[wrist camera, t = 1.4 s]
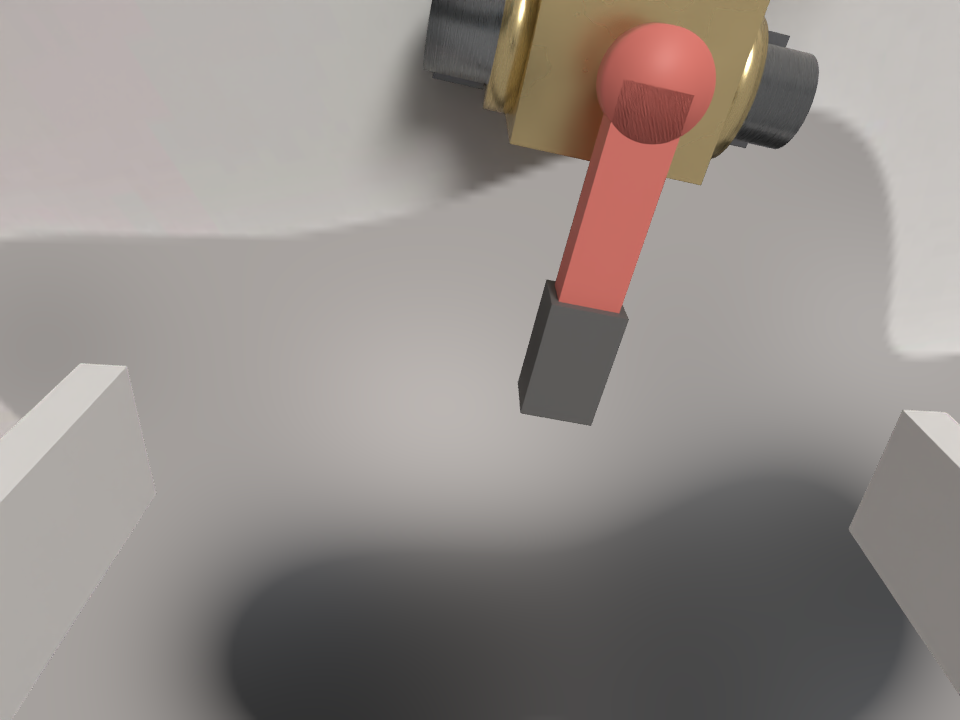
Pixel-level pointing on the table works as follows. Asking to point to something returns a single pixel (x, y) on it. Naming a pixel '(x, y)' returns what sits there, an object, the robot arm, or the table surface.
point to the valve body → (579, 51)
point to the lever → (613, 215)
